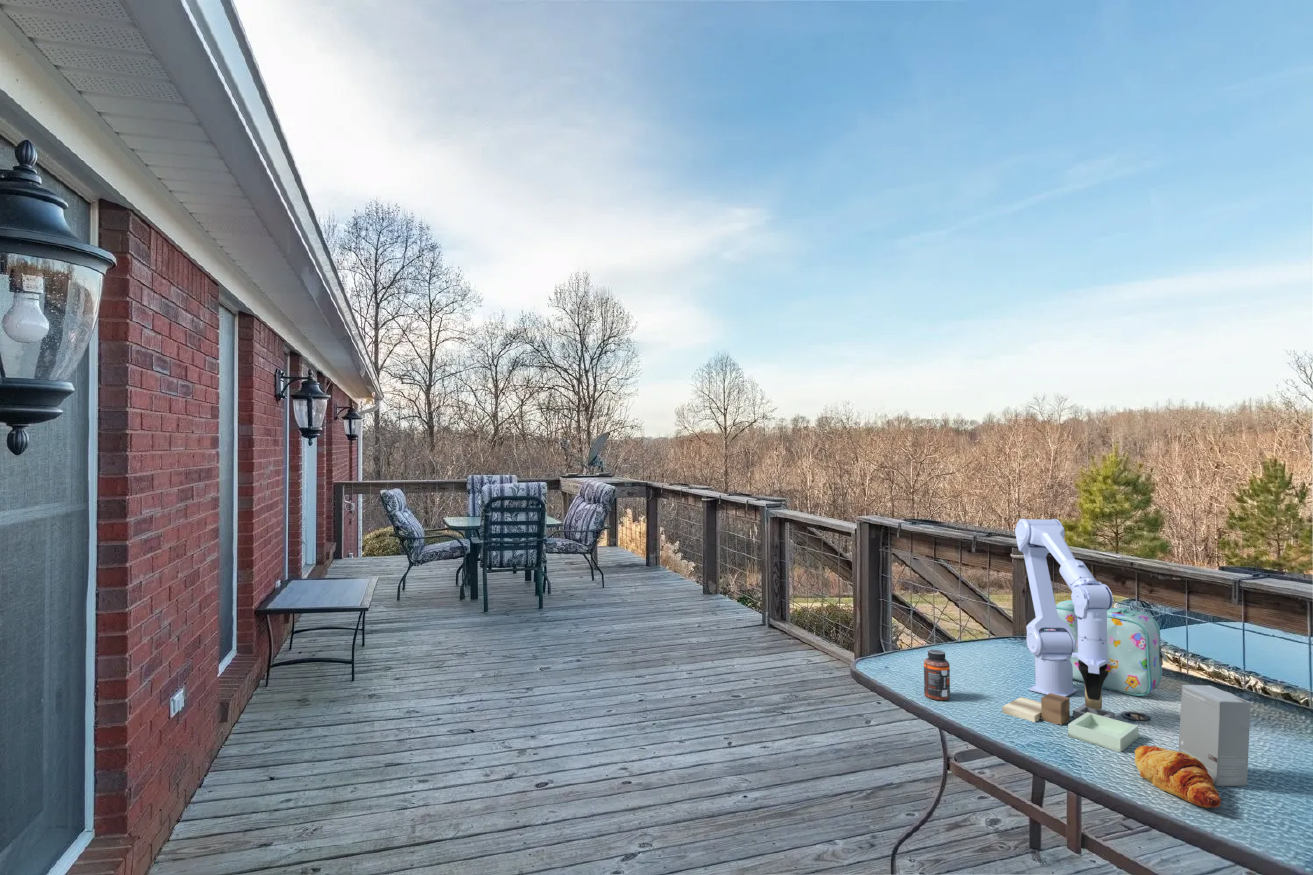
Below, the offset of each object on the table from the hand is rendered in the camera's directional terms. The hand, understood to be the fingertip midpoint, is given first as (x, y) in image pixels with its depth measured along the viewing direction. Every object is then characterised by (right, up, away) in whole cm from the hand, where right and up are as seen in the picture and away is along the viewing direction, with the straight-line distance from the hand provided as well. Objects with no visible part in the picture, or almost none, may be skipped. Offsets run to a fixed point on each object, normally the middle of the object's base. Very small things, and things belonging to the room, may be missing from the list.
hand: (1093, 696), depth 148 cm
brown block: (-9, -5, -1) cm, 11 cm away
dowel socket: (0, -5, 0) cm, 5 cm away
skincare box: (+4, -4, -27) cm, 28 cm away
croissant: (-6, -4, -31) cm, 31 cm away
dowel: (0, -2, 0) cm, 2 cm away
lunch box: (+18, -6, +22) cm, 29 cm away
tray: (-5, -5, -10) cm, 12 cm away
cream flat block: (-13, -6, +3) cm, 15 cm away
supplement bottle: (-30, -6, +13) cm, 33 cm away
